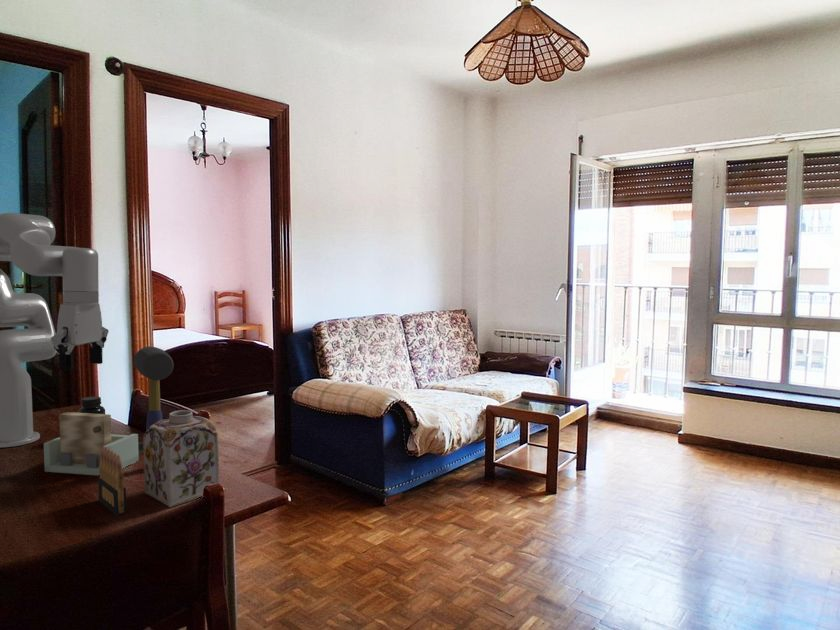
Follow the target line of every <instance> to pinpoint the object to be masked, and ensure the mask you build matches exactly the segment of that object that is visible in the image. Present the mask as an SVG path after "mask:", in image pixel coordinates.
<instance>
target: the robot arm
mask: <svg viewBox="0 0 840 630" xmlns="http://www.w3.org/2000/svg"><path fill="white" fill-rule="evenodd" d="M55 238H56V227H55V224H54V223H53V222H52V220H50V218H48V217H46V216H43V215H38V214H29V213H28V214H27V213H19V212H17V213H16V212H4V213H0V262H12V263H13V265H14V266H15V267H17V268H18V269H19V270H21V271H22V272H23V273H26V274H28V275H31V276H36V277H62V303H61V304H60V305H59V311H58V316H57V326H56V329H55V325H54V322H53V319H52V315H51V311H50V309H49V305H48V303H47V301H46V300H45V299H44V297H42V296H41V295H40V294H37V293H34V292H33V293H31V292H29V293H27V292H24V293H23V292H21V293H17V292H15V291H14V290H13V287H12V282H11V279H10V278H9V275H7V273H5V272H4V271H3V270H2V269H1V268H0V328H12V327H27V328H13V329H2V330H0V449H3V448H12V447H18V446H23V445H24V446H25V445H28V444H31V443H34V442H37V441H38V440H39V439H40V438H41V434H40V432H38V431H34V419H33V395H32V394H33V393H32V392H33V391H32V378H31V376H30V373H28V371H27V370H26V369H25V368H24V367H23V365H21V364H23V363H28V362H29V363H30V362H38V361H45V360H49V359H52V358H54V357H55V355H57V354H58V358H59V359H58V360H59V361H58V362H59V370H60V371H65V372H71V371H73V370H74V356H73V354H72V352H73V350H74V348H75V346H81V345H82V346H83V345H87V344H89V345H90V346H91V347H89V363H90V364H98V365H101V364H103V349H104V348H105V343H106V342H107V339H108V338H107V337H108V334H109V329H107V328H106V327H104V326H103V318H102V312H101V305H100V302H99V301H100V300H99V297H100V296H99V295H100V294H99V291H100V290H99V289H100V288H99V253H98V251H97V250H96V249H93V248H88V247H77V246H69V245H68V246H67V245H66V246H65V245H64V246H63V245H52V244H53V242H54V241H55Z"/></svg>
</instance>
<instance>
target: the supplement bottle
mask: <svg viewBox="0 0 840 630" xmlns="http://www.w3.org/2000/svg"><path fill="white" fill-rule="evenodd" d="M80 404H81V405H80V406H81V408H79V409H78V410H77V413H92V414H106V409H105V407H104V406H102V397H100V396H86V397H83V398H81V403H80Z"/></svg>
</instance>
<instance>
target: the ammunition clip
mask: <svg viewBox="0 0 840 630" xmlns="http://www.w3.org/2000/svg"><path fill="white" fill-rule="evenodd" d="M123 471H124V469H122V461H121V458H120V456H119V455H118V456H117V454H116V453H114V452H113V451H111V450H110V449H107V447H104V445H102V448H101V452H100V465H99V473H100V476H99V477H98V480H97V481H98V483H97V484H98V502H99V503H100V504H102V505H103V506H104V507H105V508H107V509H108V510H109V511H110V512H112V513H113V514H114V515H115V516H121V515H124V514H127V513H128V512H127V491H126V490H127V489H126V487H125V478H124V475H125V474H124V472H123Z"/></svg>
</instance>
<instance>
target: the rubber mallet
mask: <svg viewBox="0 0 840 630" xmlns="http://www.w3.org/2000/svg"><path fill="white" fill-rule="evenodd" d="M133 363H134V366H135V368H136V370H137V371H138V372H139V374H141V376H143V377H144V378H146V379H148V411H147V413H146V422H145V423H146V426H145V427H146V431H147V430H148V429H149V428H150V426H152V425H153V424H154V423H156V422H157V421H160V420H164V419H163V418H164V417H163V411H162V409H161V408H162V407H161V388H160V387H161V385H160V383H161V382H160V381H162V380H164V379H166V378H168V377H169V376H170V375H171V374H172V372H173V370H174V360H173V359H172V357H171V355H170V354H169V353H167V352H166V350H164V349H161V348H159V347H156V346H145V347H143V348H140V349H139V350H138V351H137V352H136V353H135V355H134V358H133ZM146 431H145V432H146Z"/></svg>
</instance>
